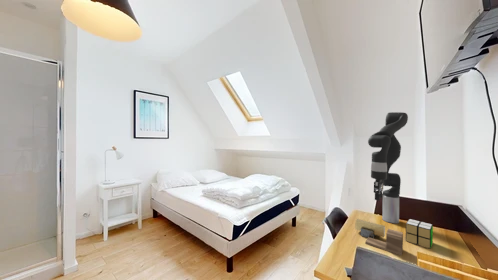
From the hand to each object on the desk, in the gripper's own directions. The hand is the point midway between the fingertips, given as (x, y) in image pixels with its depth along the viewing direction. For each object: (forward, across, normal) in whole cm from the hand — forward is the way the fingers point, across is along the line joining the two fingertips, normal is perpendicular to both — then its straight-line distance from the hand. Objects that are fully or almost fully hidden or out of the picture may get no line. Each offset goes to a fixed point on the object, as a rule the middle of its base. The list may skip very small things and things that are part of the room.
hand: (378, 198), depth 107 cm
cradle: (+22, 0, +5) cm, 23 cm away
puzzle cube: (+22, +11, -17) cm, 30 cm away
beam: (+22, -9, -4) cm, 24 cm away
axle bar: (+20, 0, +4) cm, 21 cm away
